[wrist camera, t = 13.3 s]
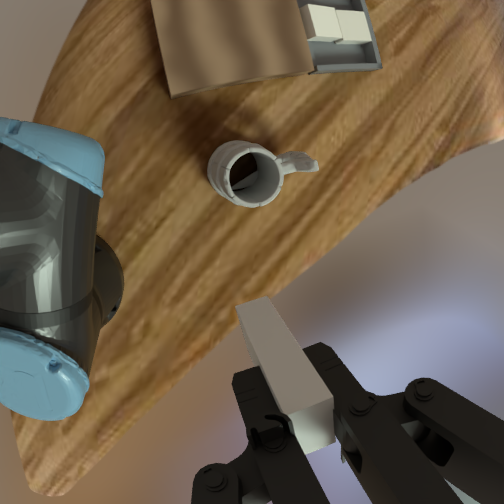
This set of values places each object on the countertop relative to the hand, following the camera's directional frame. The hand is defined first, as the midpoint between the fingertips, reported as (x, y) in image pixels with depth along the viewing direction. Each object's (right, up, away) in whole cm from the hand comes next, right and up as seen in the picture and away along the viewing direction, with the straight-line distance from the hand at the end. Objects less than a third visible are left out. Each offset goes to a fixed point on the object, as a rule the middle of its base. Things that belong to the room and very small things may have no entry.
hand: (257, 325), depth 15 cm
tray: (+11, +36, +22) cm, 44 cm away
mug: (-1, +15, +27) cm, 31 cm away
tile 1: (+14, +35, +20) cm, 43 cm away
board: (-3, +31, +20) cm, 37 cm away
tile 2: (+8, +35, +21) cm, 41 cm away
